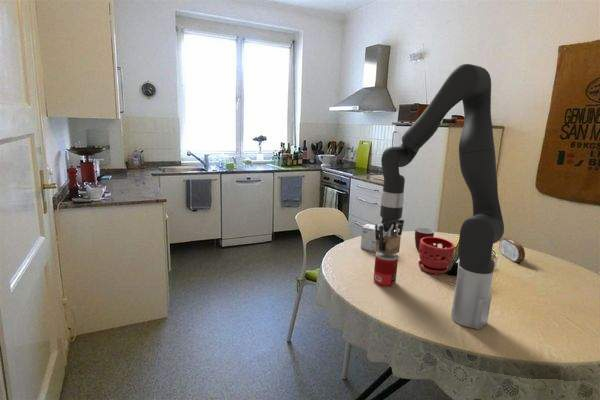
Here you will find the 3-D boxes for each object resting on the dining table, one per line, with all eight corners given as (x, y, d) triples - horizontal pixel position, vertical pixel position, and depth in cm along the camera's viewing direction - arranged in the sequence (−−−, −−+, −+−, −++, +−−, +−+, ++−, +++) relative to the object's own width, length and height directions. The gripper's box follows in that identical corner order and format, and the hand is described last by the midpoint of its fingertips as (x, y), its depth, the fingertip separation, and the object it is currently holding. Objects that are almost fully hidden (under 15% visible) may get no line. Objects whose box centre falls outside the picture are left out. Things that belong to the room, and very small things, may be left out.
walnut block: (399, 252, 128) (400, 236, 127) (389, 256, 125) (390, 239, 123) (385, 247, 133) (386, 232, 131) (375, 250, 129) (376, 235, 128)
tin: (523, 265, 152) (527, 246, 150) (516, 265, 152) (520, 246, 150) (503, 252, 167) (506, 235, 165) (496, 252, 167) (499, 234, 165)
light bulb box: (387, 249, 165) (389, 227, 162) (382, 254, 159) (384, 231, 156) (365, 244, 170) (367, 223, 168) (359, 248, 164) (361, 226, 162)
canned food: (395, 288, 127) (399, 259, 125) (373, 285, 129) (375, 257, 126) (394, 279, 134) (397, 251, 132) (373, 276, 136) (375, 249, 133)
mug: (407, 246, 170) (410, 226, 167) (423, 246, 171) (426, 226, 168) (417, 254, 159) (420, 233, 157) (434, 254, 160) (437, 233, 158)
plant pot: (418, 274, 140) (421, 245, 137) (415, 261, 152) (418, 234, 149) (453, 278, 137) (457, 249, 134) (448, 265, 149) (452, 238, 146)
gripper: (388, 209, 117) (383, 257, 121) (412, 203, 126) (407, 248, 130) (370, 204, 123) (366, 250, 127) (395, 199, 132) (390, 242, 136)
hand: (387, 249), depth 129 cm, fingers closed on walnut block, 6 cm apart
